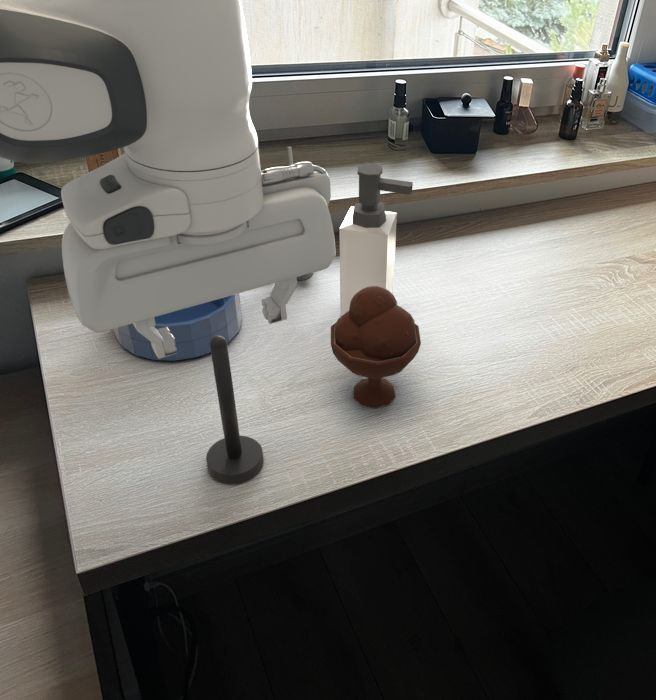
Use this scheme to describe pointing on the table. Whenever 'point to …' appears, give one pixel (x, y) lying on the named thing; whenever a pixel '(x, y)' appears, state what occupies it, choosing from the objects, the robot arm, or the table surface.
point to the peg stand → (230, 428)
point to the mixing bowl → (188, 329)
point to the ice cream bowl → (375, 343)
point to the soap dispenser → (369, 236)
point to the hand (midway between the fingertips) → (222, 334)
